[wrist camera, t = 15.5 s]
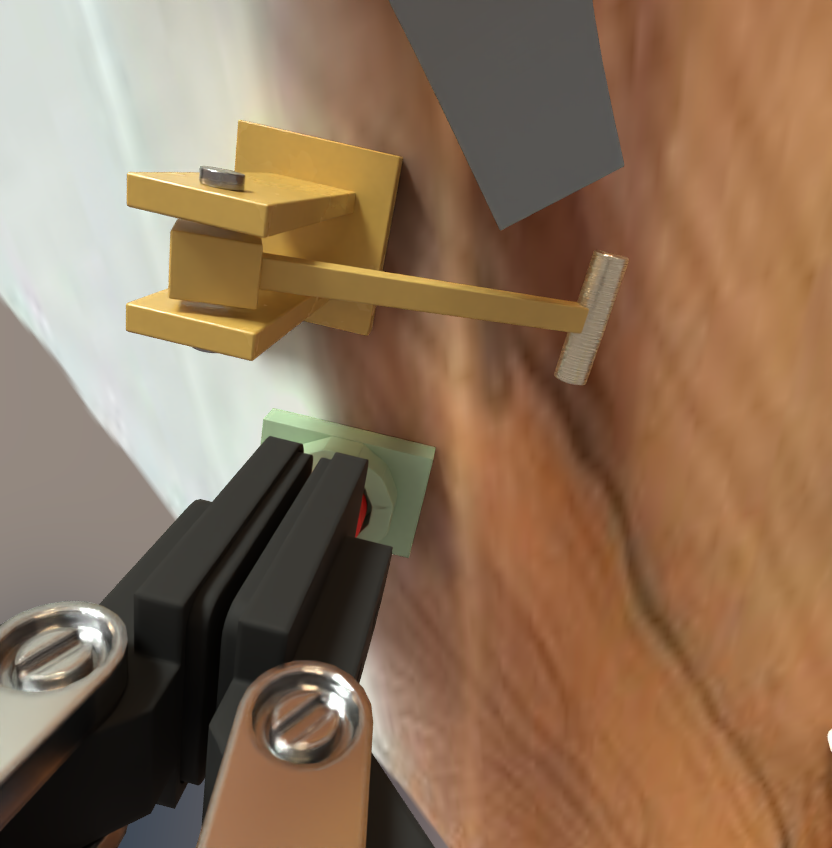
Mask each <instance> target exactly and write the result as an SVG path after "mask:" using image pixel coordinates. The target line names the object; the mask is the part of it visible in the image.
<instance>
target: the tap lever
mask: <svg viewBox="0 0 832 848" xmlns="http://www.w3.org/2000/svg"><path fill="white" fill-rule="evenodd" d="M628 262H629V259H628V258H627V257H624V256H621V255H617V254H614V253H610V252H605V251H600V250H595V251H594V252H593V255H592V258H591V261H590V264H589V267H588V270H587V273H586V276H585V280H584V283H583V286H582V289H581V292H580V295H579V298H578V301H577V302H571V301H565V300H559V299H552V298H546V297H540V296H533V295H527V294H521V293H515V292H508V291H502V290H496V289H490V288H483V287H477V286H471V285H464V284H458V283H452V282H446V281H439V280H433V279H427V278H421V277H414V276H408V275H402V274H395V273H389V272H383V271H377V270H370V269H364V268H358V267H352V266H345V265H339V264H333V263H326V262H320V261H314V260H308V259H301V258H295V257H289V256H283V255H276V254H270V253H264V252H263V244H262V239H261V237H256V236H252V235H248V234H243V233H239V232H235V231H231V230H226V229H222V228H218V227H213V226H209V225H205V224H201V223H196V222H192V221H188V220H184V219H177V221H176V223H175V224H174V226H173V228H172V230H171V232H170V259H169V286H168V297H169V298H170V299H177V300H185V301H193V302H200V303H208V304H216V305H224V306H232V307H239V308H247V309H256V308H257V302H258V292H259V289H263V290H271V291H278V292H285V293H292V294H299V295H306V296H314V297H321V298H328V299H335V300H342V301H349V302H356V303H364V304H371V305H378V306H385V307H392V308H399V309H406V310H414V311H421V312H428V313H435V314H442V315H449V316H457V317H464V318H471V319H478V320H485V321H492V322H499V323H507V324H514V325H521V326H528V327H535V328H542V329H549V330H557V331H564V332H567V336H566V339H565V342H564V345H563V348H562V351H561V354H560V357H559V360H558V364H557V367H556V370H555V373H554V375H555V377H556V378H557V379H559V380H561V381H563V382H565V383H568V384H572V385H585V384H586V383H587V380H588V377H589V374H590V371H591V368H592V365H593V362H594V360H595V357H596V354H597V351H598V348H599V345H600V342H601V339H602V337H603V334H604V331H605V328H606V325H607V322H608V319H609V316H610V313H611V311H612V308H613V305H614V302H615V299H616V296H617V293H618V290H619V288H620V285H621V282H622V279H623V276H624V273H625V270H626V267H627V265H628Z"/></svg>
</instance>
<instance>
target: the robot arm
mask: <svg viewBox="0 0 832 848" xmlns="http://www.w3.org/2000/svg"><path fill="white" fill-rule="evenodd" d="M368 463H369V461H368V459H364V458H360V457H355V456H351V455H347V454H343V453H339V452H336V453H335V454H334V456H333V457H332V459H327V458H323V457H321V459H320V460H319V462H318V463H317V465H316V466H315V468H314V470H313V471H312V467H313V455H311V454H307V453H304V446H303V444H302V443H298V442H293V441H289V440H285V439H281V438H277V437H273V436H269V437H268V438H267V439H266V440H265V441H264V442H263V443H262V444H261V446H260V447H259V448H258V449H257V450H256V451H255V453H254V454H253V455H252V456H251V457H250V458H249V460H248V461H247V462H246V463H245V464H244V465H243V467H242V468H241V469H240V470H239V471H238V472H237V474H236V475H235V476H234V477H233V478H232V479H231V481H230V482H229V483H228V484H227V485H226V487H225V488H224V489H223V490H222V491H221V492H220V494H219V495H218V496H217V497H216V498H215V499H214V501H213V502H210V501H206V500H202V499H199V500H195V501H194V502H193V503H192V504H191V505H189V506H188V508H187V509H186V510H185V511H184V512H183V513H182V514H181V515H180V516H179V517H178V519H177V520H176V521H175V522H174V523H173V524H172V525H171V526H170V527H169V529H167V531H166V532H165V533H164V534H163V535H162V536H161V537H160V538H159V539H158V541H157V542H156V543H155V544H154V545H153V546H152V547H151V548H150V549H149V550H148V552H147V553H146V554H145V555H144V556H143V557H142V558H141V559H140V560H139V561H138V563H137V564H136V565H135V566H134V567H133V568H132V569H131V570H130V571H129V572H128V573H127V574H126V576H125V577H124V578H123V579H122V580H121V581H120V582H119V583H118V584H117V585H116V587H115V588H114V589H113V590H112V591H111V592H110V593H109V594H108V595H107V597H105V599H104V600H103V601H102V602H101V603H100V604H99V605H97V604H93V603H89V602H82V601H81V602H80V601H79V602H78V601H64V602H57V603H52V604H46V605H41V606H38V607H36V608H33V609H30V610H28V611H25V612H22V613H20V614H18V615H16V616H14V617H13V618H11V619H9V620H8V621H6V622H4V623H3V624H1V625H0V848H118V846H119V844H120V842H121V840H122V839H123V837H124V835H125V833H126V830H127V826H128V824H130V823H132V822H134V821H136V820H138V819H140V818H142V817H144V816H146V815H148V814H150V813H151V812H152V810H153V808H154V806H155V804H159V805H163V806H167V807H171V808H174V809H175V807H176V805H177V803H178V801H179V799H180V797H181V795H182V793H183V791H184V789H185V788H186V785H187V784H188V783H192V784H195V785H200V784H201V783H202V781H203V780H204V778H205V789H204V802H203V816H202V829H201V832H200V835H199V839H198V842H197V845H196V848H435V847H434V846H433V844H432V843H431V841H430V840H429V838H428V837H427V835H426V834H425V832H424V831H423V829H422V828H421V826H420V825H419V824H418V822H417V820H416V819H415V818H414V816H413V814H412V813H411V811H410V810H409V808H408V807H407V805H406V804H405V802H404V801H403V799H402V798H401V796H400V795H399V793H398V792H397V790H396V789H395V787H394V786H393V784H392V783H391V781H390V780H389V778H388V777H387V775H386V774H385V772H384V771H383V769H382V768H381V766H380V765H379V763H378V762H377V760H376V759H375V757H374V756H373V754H372V752H371V750H372V733H373V717H372V708H371V703H370V701H369V699H368V697H367V695H366V693H365V691H364V689H363V687H362V686H361V685H360V684H359V682H360V679H361V675H362V672H363V668H364V664H365V661H366V657H367V653H368V650H369V646H370V642H371V639H372V635H373V631H374V628H375V624H376V620H377V616H378V612H379V608H380V604H381V600H382V596H383V591H384V587H385V583H386V578H387V574H388V569H389V565H390V560H391V555H392V550H393V547H392V546H388V545H383V544H379V543H375V542H371V541H367V540H363V539H359V538H355V535H356V529H357V524H358V519H359V513H360V508H361V503H362V498H363V492H364V487H365V482H366V476H367V471H368Z"/></svg>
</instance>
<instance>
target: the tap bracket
mask: <svg viewBox="0 0 832 848" xmlns="http://www.w3.org/2000/svg"><path fill="white" fill-rule="evenodd" d="M402 162H403V157H400V156H396V155H391V154H387V153H383V152H378V151H374V150H370V149H365V148H361V147H356V146H352V145H348V144H343V143H339V142H335V141H330V140H326V139H322V138H317V137H313V136H308V135H304V134H300V133H295V132H291V131H287V130H282V129H278V128H273V127H269V126H265V125H260V124H256V123H252V122H247V121H242V120H239V121H238V133H237V146H236V159H235V171H231V170H227V169H222V168H216V167H210V166H200V172H129V173H127V206H129V207H132V208H136V209H141V210H145V211H149V212H154V213H158V214H162V215H166V216H171V217H175V218H179V219H184V220H188V221H192V222H196V223H201V224H205V225H209V226H213V227H218V228H222V229H226V230H231V231H235V232H239V233H243V234H248V235H252V236H256V237H261V239H262V244H263V252H264V253H270V254H276V255H283V256H289V257H295V258H301V259H308V260H314V261H320V262H326V263H333V264H339V265H345V266H352V267H358V268H364V269H370V270H377V271H383V266H384V261H385V255H386V250H387V244H388V239H389V233H390V228H391V222H392V217H393V211H394V206H395V200H396V195H397V189H398V184H399V178H400V173H401V167H402ZM375 310H376V305H371V304H364V303H356V302H349V301H342V300H335V299H328V298H321V297H314V296H306V295H299V294H292V293H285V292H278V291H271V290H263V289H259V292H258V302H257V308H256V309H247V308H239V307H232V306H224V305H216V304H208V303H200V302H193V301H185V300H177V299H170V298H169V297H168V289H165V290H162V291H159V292H157V293H154V294H151V295H148V296H145V297H143V298H140V299H137V300H134V301H131V302H129V303H127V304H126V331H128V332H132V333H136V334H141V335H145V336H149V337H153V338H157V339H161V340H166V341H170V342H174V343H178V344H182V345H187V346H191V347H193V348H194V349H196V350H199V351H203V352H208V353H220V354H224V355H228V356H233V357H237V358H241V359H245V360H249V361H253V360H254V359H256V358H257V357H258V356H259V355H261V354H262V353H263V352H264V351H266V350H267V349H268V348H270V347H271V346H272V345H273V344H275V343H276V342H277V341H278V340H280V339H281V338H282V337H284V336H285V335H286V334H287V333H289V332H290V331H291V330H292V329H294V328H295V327H296V326H298V325H299V324H300V323H301V322H303V321H306V322H310V323H314V324H318V325H322V326H327V327H331V328H335V329H339V330H344V331H348V332H352V333H356V334H360V335H365V336H368V335H369V333H370V332H371V331H372V326H373V321H374V315H375Z"/></svg>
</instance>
